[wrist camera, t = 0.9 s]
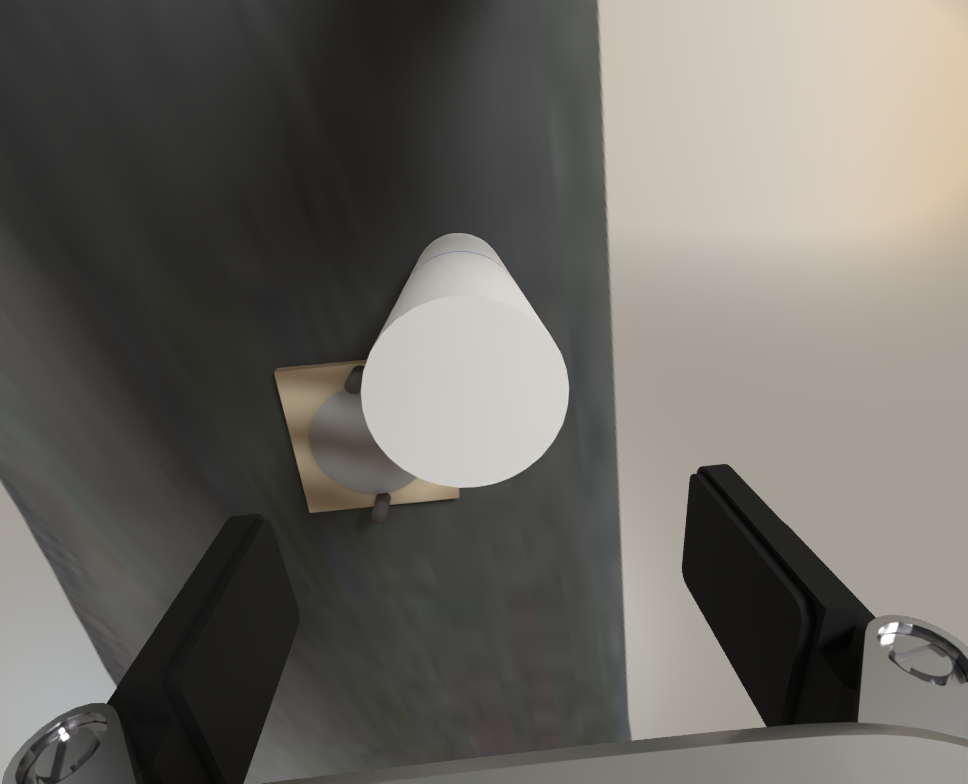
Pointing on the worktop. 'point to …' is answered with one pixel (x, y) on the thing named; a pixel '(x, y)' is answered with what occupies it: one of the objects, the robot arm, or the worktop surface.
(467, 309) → the cylindrical container
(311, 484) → the locking base
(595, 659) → the worktop surface
